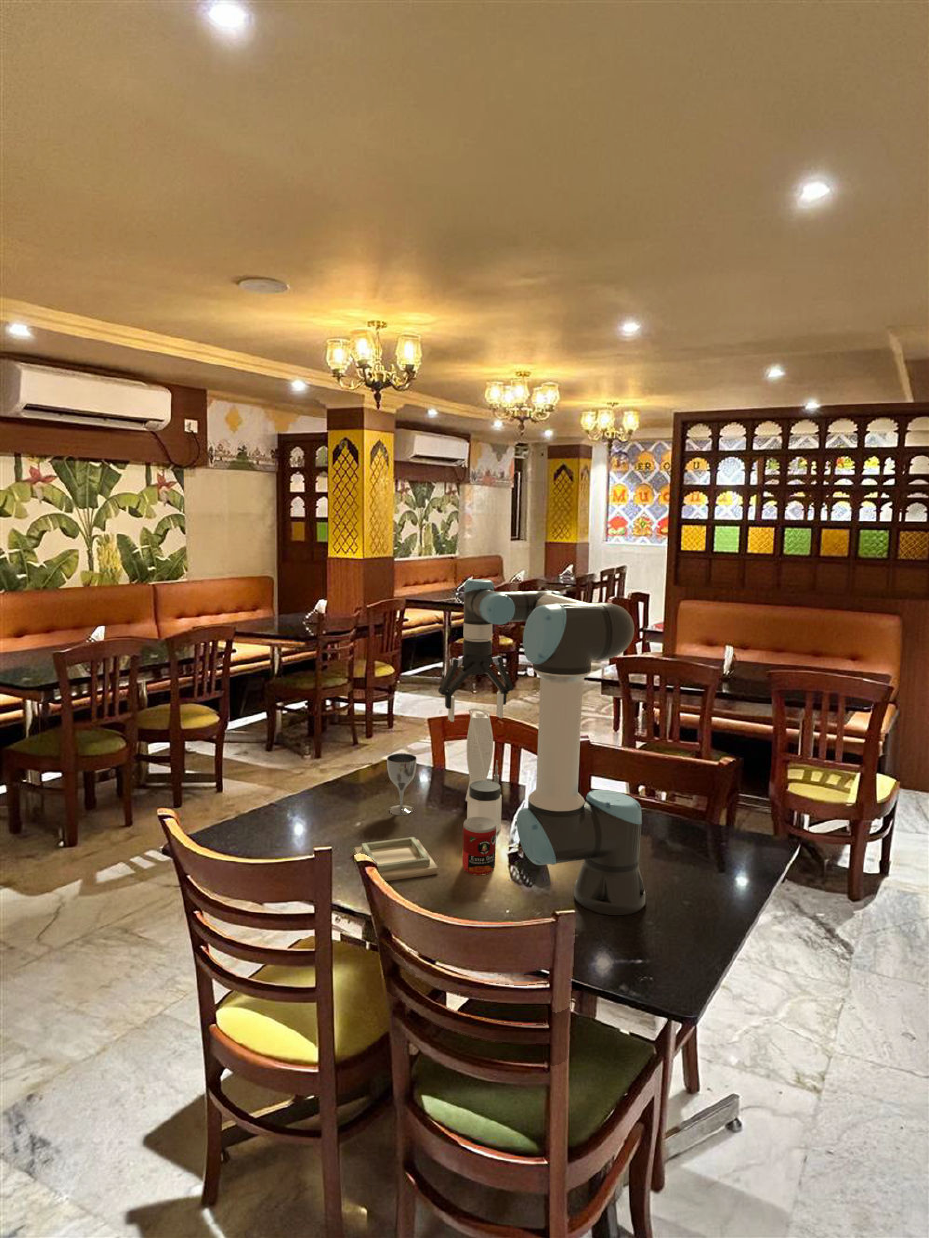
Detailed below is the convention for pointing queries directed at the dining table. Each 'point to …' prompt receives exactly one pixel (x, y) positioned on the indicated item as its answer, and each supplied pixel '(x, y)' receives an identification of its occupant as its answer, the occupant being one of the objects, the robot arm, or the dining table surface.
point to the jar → (485, 801)
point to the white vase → (480, 747)
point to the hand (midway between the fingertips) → (475, 718)
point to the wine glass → (401, 777)
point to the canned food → (479, 845)
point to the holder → (399, 858)
